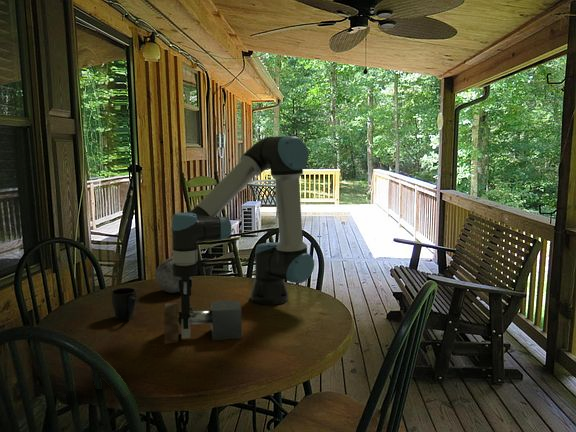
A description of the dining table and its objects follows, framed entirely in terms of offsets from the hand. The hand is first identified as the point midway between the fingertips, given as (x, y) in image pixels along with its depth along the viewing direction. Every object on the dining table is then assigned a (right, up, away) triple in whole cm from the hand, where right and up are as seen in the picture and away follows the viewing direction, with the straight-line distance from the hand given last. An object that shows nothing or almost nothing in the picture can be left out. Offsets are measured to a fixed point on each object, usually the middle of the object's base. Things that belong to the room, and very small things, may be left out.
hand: (186, 334), depth 142 cm
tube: (+3, +3, 0) cm, 4 cm away
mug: (-24, +1, +15) cm, 29 cm away
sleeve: (+12, -1, +3) cm, 13 cm away
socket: (-4, -1, -1) cm, 4 cm away
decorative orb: (-15, +5, +46) cm, 49 cm away
